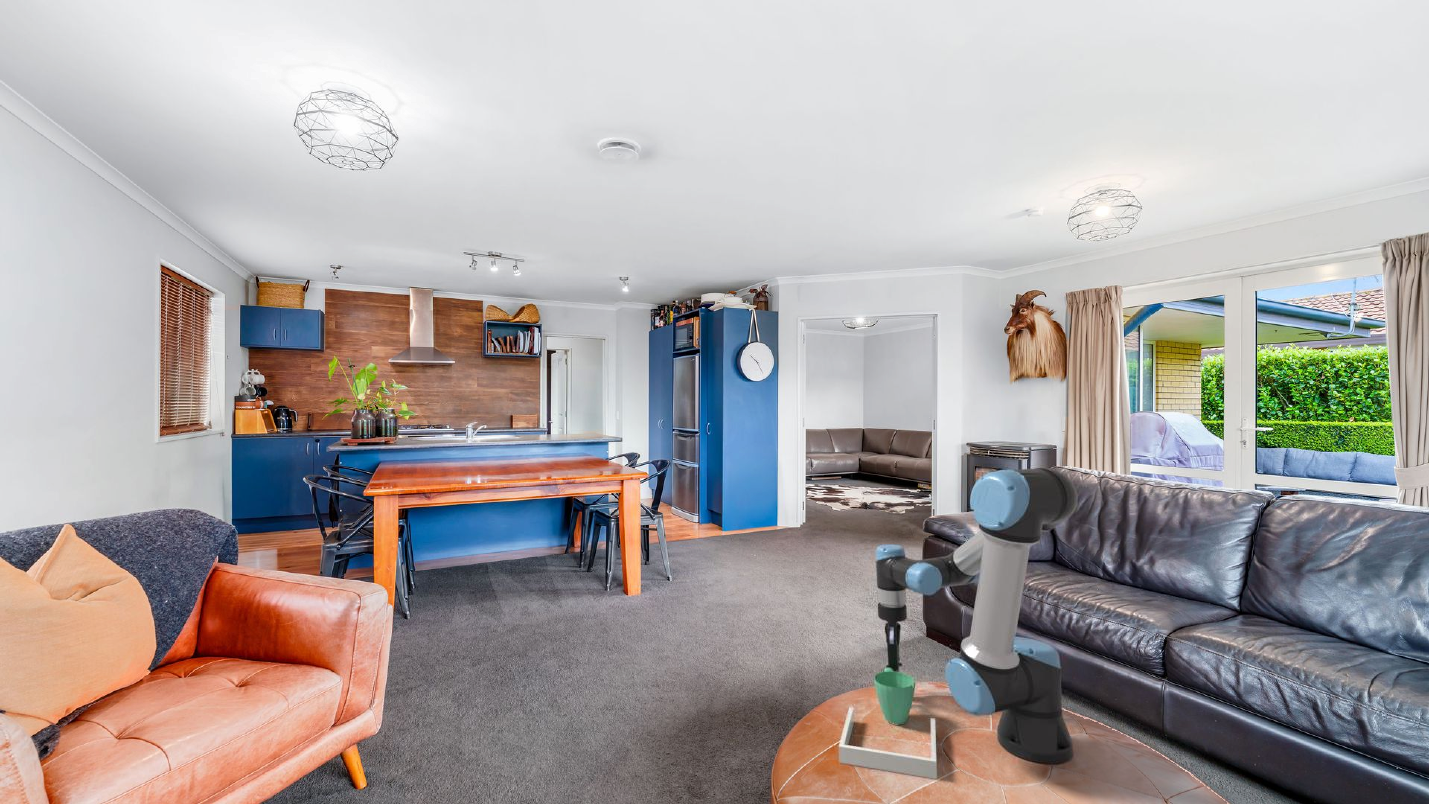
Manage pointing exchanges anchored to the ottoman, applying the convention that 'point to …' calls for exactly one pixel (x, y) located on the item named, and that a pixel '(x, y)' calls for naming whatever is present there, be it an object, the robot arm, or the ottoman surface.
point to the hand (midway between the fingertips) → (895, 692)
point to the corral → (886, 755)
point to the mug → (894, 694)
